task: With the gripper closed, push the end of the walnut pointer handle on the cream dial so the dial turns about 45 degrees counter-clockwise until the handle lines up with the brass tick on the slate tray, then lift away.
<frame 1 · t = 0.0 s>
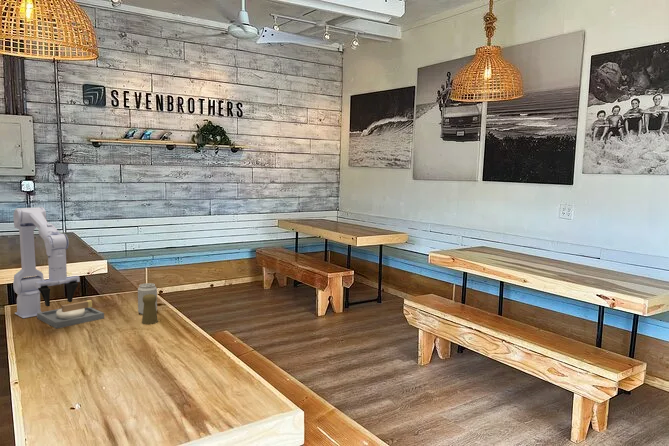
hand: (58, 303, 184), 10 cm above the table, tool pointing down, fingers open, 7 cm apart
can: (147, 313, 210), on the table
dial: (74, 308, 200), point 4 cm above the table, hinge at 0.0°
slate tray: (70, 318, 199), on the table
cork: (149, 322, 197), on the table
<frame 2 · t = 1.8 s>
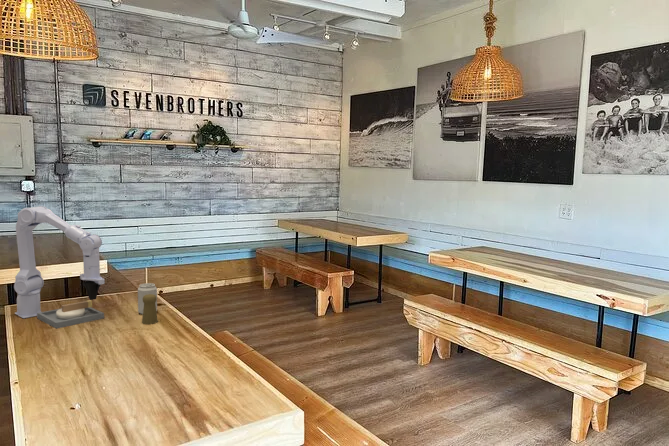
hand: (92, 299, 199), 8 cm above the table, tool pointing down, fingers closed
nothing on the table moved.
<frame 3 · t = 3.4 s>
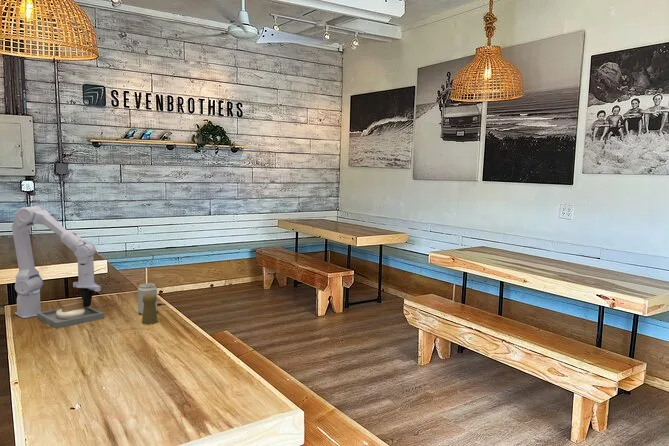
hand: (87, 306, 203), 4 cm above the table, tool pointing down, fingers closed, pressing on dial
dial: (74, 308, 200), point 4 cm above the table, hinge at 3.7°, touching gripper
everything else where it was.
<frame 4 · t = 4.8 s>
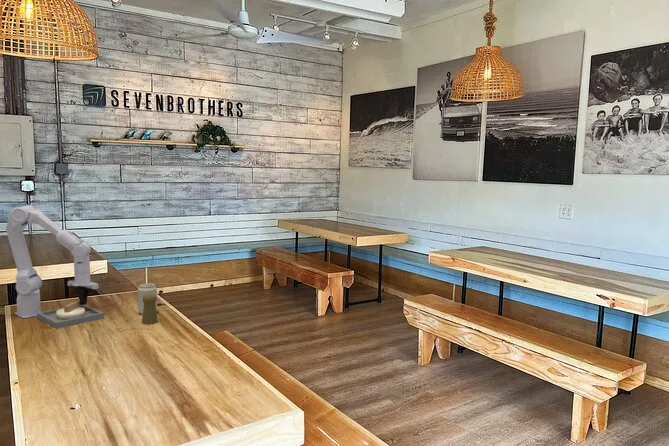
hand: (83, 304, 205), 4 cm above the table, tool pointing down, fingers closed, pressing on dial
dial: (72, 308, 200), point 4 cm above the table, hinge at 38.3°, touching gripper
everything else where it was.
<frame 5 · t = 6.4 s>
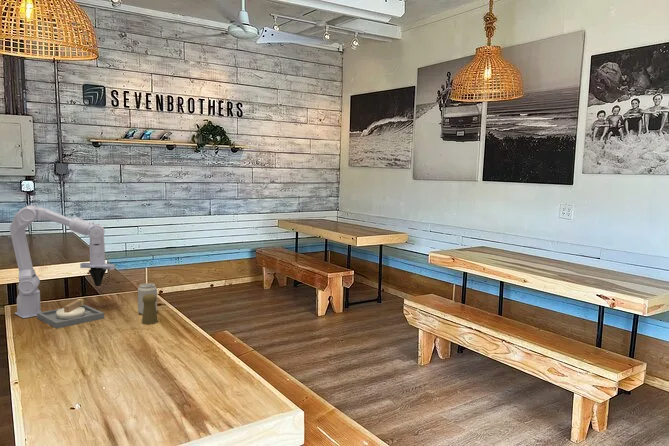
hand: (98, 285, 211), 10 cm above the table, tool pointing down, fingers closed
dial: (72, 308, 200), point 4 cm above the table, hinge at 38.5°
everything else where it was.
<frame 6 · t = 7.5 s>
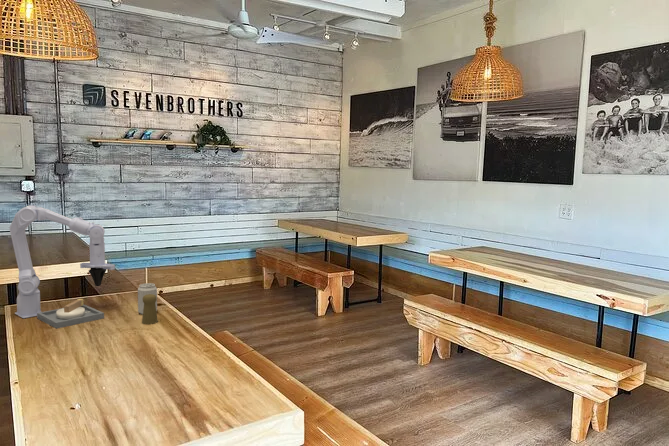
hand: (98, 285, 211), 10 cm above the table, tool pointing down, fingers closed
nothing on the table moved.
at the end: dial at +38° (first picture: +0°) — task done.
